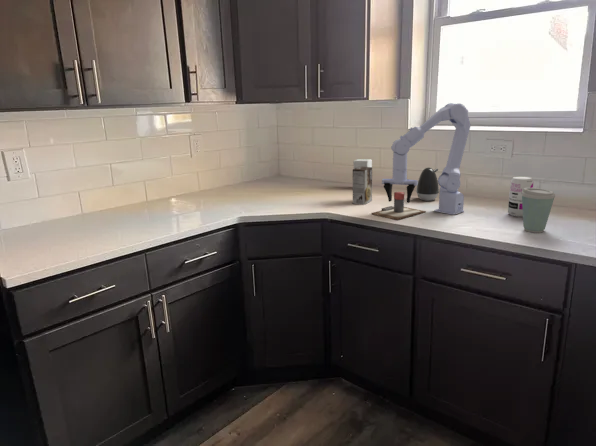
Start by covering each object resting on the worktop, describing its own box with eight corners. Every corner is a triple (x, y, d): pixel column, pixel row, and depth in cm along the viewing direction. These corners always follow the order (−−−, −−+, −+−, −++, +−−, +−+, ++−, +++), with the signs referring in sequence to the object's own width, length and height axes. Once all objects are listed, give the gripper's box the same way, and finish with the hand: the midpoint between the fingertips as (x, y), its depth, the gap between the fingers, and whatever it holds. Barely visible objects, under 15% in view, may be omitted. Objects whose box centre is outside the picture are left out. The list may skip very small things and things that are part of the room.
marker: (404, 210, 198) (405, 192, 196) (402, 213, 194) (403, 194, 192) (394, 210, 199) (395, 191, 197) (392, 212, 196) (393, 193, 194)
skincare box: (372, 188, 252) (372, 159, 248) (367, 190, 247) (367, 160, 243) (358, 187, 256) (358, 158, 252) (353, 189, 251) (353, 160, 247)
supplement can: (531, 213, 190) (534, 176, 187) (528, 218, 184) (532, 180, 180) (509, 211, 194) (512, 175, 191) (506, 216, 188) (509, 178, 184)
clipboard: (425, 212, 197) (426, 208, 196) (397, 220, 186) (397, 216, 186) (399, 207, 208) (399, 203, 207) (371, 214, 197) (371, 210, 196)
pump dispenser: (443, 200, 218) (445, 167, 214) (424, 203, 214) (426, 169, 210) (429, 196, 227) (431, 165, 223) (411, 198, 223) (412, 167, 220)
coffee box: (359, 199, 225) (360, 166, 221) (372, 200, 222) (372, 166, 218) (351, 203, 218) (351, 169, 213) (364, 204, 214) (365, 169, 210)
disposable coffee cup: (541, 226, 172) (545, 185, 168) (557, 234, 162) (562, 191, 158) (512, 227, 172) (516, 186, 168) (527, 235, 162) (531, 192, 158)
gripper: (419, 168, 192) (418, 200, 196) (385, 167, 199) (385, 198, 202) (415, 171, 186) (414, 204, 190) (380, 169, 193) (380, 201, 196)
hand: (399, 201), depth 196 cm, fingers open, 7 cm apart
